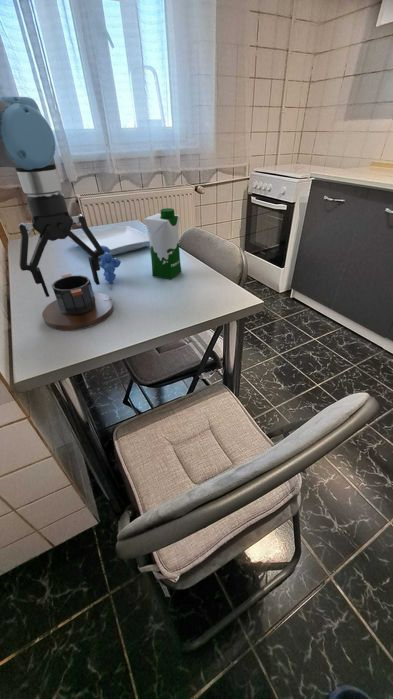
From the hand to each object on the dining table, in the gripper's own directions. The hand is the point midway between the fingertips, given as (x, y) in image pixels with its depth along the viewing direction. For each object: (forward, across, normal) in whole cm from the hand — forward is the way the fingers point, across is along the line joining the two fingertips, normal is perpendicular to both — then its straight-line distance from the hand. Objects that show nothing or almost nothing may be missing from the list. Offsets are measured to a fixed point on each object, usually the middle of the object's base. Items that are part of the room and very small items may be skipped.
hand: (72, 288), depth 75 cm
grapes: (+7, -14, -14) cm, 21 cm away
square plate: (+7, -25, -49) cm, 55 cm away
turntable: (+7, 0, 0) cm, 7 cm away
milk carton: (+7, -31, -10) cm, 33 cm away
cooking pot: (+5, 0, 0) cm, 5 cm away
